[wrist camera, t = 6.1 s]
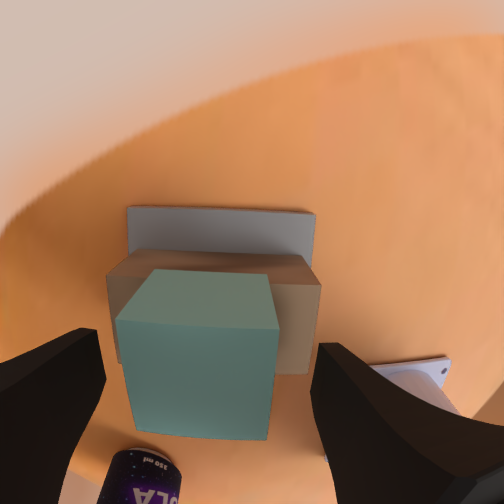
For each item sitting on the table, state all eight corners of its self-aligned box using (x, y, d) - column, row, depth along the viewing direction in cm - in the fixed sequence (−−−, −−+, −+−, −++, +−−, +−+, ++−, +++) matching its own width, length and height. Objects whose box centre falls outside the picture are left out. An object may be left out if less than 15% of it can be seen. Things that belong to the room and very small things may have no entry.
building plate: (294, 366, 18) (296, 374, 17) (143, 358, 17) (139, 366, 17) (312, 212, 15) (315, 215, 15) (132, 205, 15) (127, 207, 14)
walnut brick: (302, 255, 15) (321, 285, 11) (293, 329, 16) (307, 374, 12) (137, 248, 15) (105, 274, 11) (142, 321, 16) (118, 363, 12)
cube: (259, 367, 12) (266, 440, 8) (161, 361, 12) (136, 430, 8) (267, 274, 11) (279, 329, 7) (154, 269, 11) (114, 319, 7)
